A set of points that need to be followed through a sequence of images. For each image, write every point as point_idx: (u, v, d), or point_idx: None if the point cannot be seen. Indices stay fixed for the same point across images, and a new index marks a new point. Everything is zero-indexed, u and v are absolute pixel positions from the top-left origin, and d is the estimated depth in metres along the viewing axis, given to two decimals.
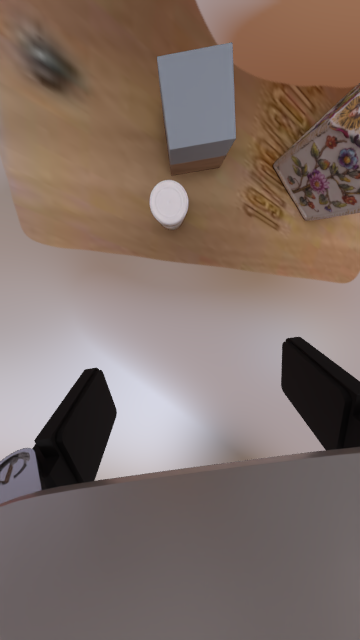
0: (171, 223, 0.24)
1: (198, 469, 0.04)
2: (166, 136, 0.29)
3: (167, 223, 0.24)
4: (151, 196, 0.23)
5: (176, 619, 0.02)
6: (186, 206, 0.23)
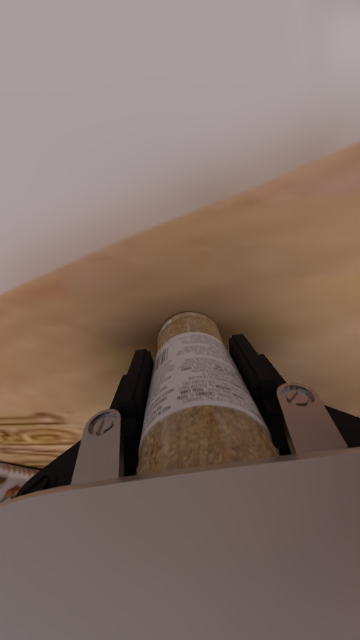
0: None
1: (198, 469, 0.04)
2: None
3: None
4: None
5: (176, 619, 0.02)
6: None
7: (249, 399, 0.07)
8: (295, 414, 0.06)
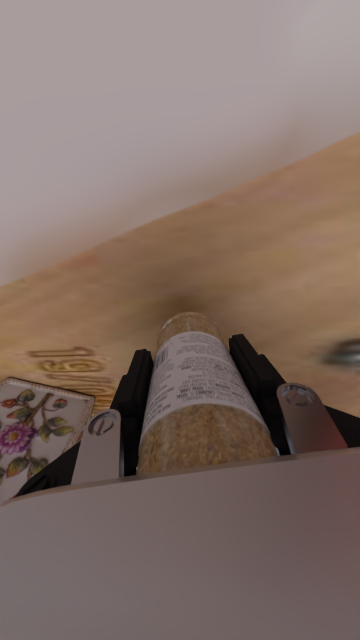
0: None
1: (198, 469, 0.04)
2: None
3: None
4: None
5: (176, 619, 0.02)
6: None
7: (249, 398, 0.07)
8: (295, 414, 0.06)
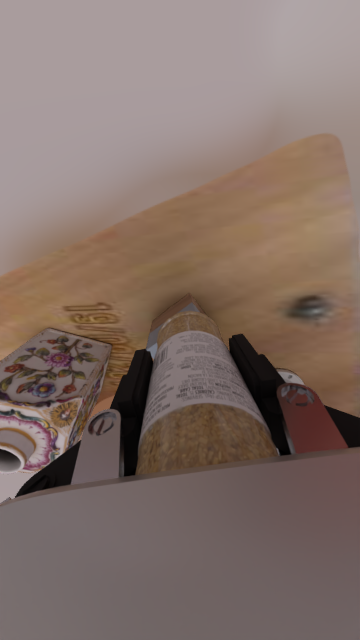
0: None
1: (198, 469, 0.04)
2: None
3: None
4: None
5: (176, 619, 0.02)
6: None
7: (249, 397, 0.07)
8: (295, 414, 0.06)
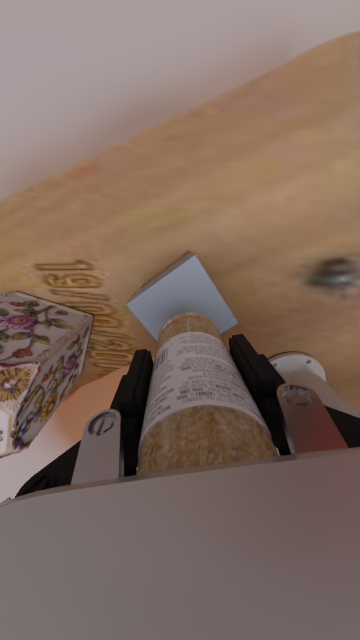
0: None
1: (198, 469, 0.04)
2: None
3: None
4: None
5: (176, 619, 0.02)
6: None
7: (249, 399, 0.07)
8: (295, 414, 0.06)
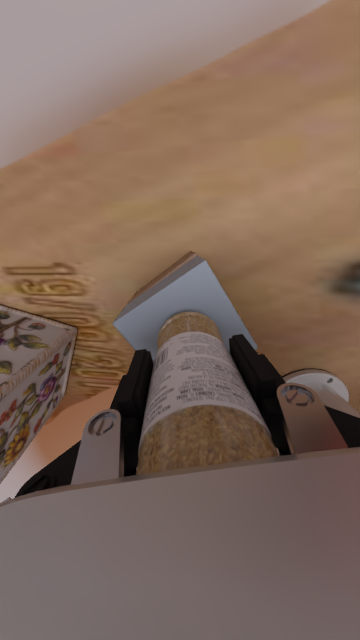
0: None
1: (198, 469, 0.04)
2: None
3: None
4: None
5: (176, 619, 0.02)
6: None
7: (249, 399, 0.07)
8: (295, 414, 0.06)
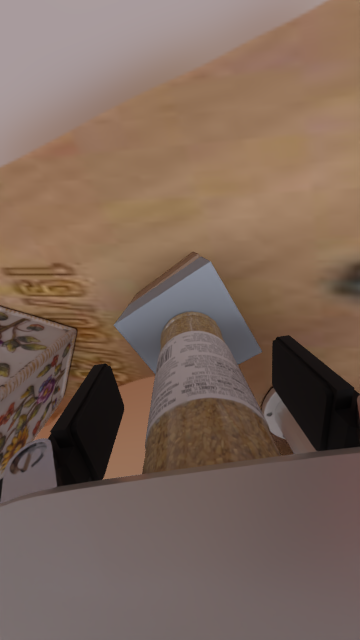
0: None
1: (198, 469, 0.04)
2: None
3: None
4: None
5: (176, 619, 0.02)
6: None
7: (249, 393, 0.07)
8: None
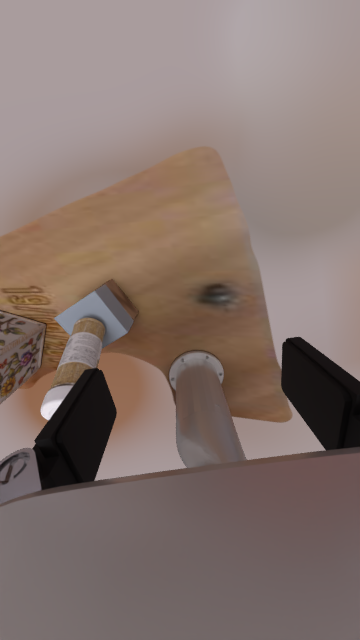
0: (50, 402, 0.19)
1: (198, 469, 0.04)
2: (122, 299, 0.37)
3: (55, 400, 0.19)
4: None
5: (176, 619, 0.02)
6: (43, 416, 0.20)
7: (92, 360, 0.24)
8: None
